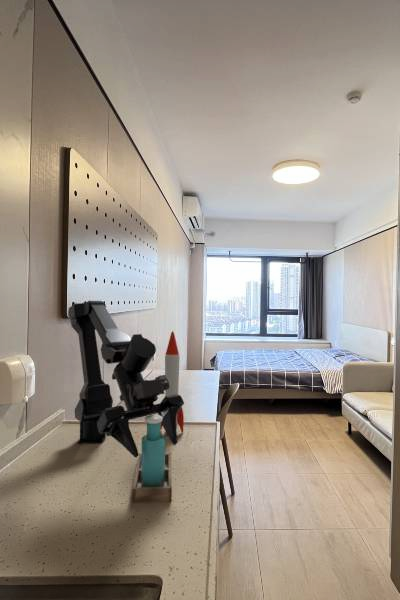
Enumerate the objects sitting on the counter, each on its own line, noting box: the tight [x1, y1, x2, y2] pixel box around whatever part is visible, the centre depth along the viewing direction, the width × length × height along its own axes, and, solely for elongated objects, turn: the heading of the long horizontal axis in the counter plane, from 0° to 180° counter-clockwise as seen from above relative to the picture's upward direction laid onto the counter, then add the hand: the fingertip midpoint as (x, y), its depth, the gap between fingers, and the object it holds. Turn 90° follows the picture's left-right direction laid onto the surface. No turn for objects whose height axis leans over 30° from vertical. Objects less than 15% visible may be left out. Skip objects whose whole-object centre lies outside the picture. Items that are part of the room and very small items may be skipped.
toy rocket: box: [161, 330, 185, 437], centre depth 101 cm, size 6×6×30 cm
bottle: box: [141, 414, 166, 487], centre depth 70 cm, size 5×5×14 cm
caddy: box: [131, 452, 173, 504], centre depth 74 cm, size 8×15×3 cm, turn 5°
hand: (157, 450), depth 69 cm, fingers open, 9 cm apart
